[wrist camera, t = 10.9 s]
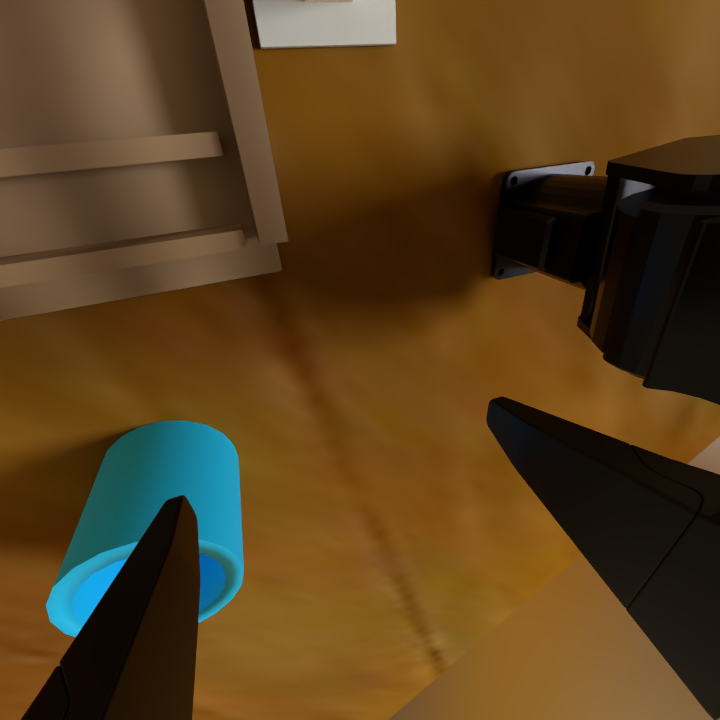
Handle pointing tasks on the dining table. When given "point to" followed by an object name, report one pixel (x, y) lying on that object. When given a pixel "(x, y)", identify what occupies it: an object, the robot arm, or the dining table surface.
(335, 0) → the block
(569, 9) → the dining table surface
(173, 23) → the rack
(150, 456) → the mug
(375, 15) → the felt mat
